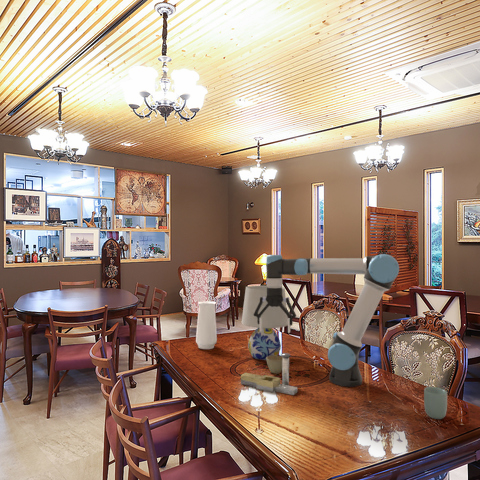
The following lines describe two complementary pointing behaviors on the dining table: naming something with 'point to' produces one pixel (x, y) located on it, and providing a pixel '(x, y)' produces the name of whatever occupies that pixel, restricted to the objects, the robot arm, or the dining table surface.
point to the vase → (206, 325)
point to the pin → (285, 368)
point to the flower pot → (275, 363)
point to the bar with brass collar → (267, 383)
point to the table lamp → (263, 323)
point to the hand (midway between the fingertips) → (274, 331)
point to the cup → (435, 402)
